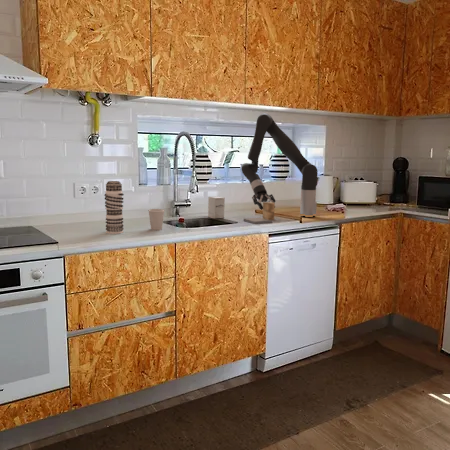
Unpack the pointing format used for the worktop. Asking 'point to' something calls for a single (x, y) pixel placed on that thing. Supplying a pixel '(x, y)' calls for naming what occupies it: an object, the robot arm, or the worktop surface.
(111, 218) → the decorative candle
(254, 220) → the plate
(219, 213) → the supplement box
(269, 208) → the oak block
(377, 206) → the worktop surface
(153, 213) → the dixie cup
